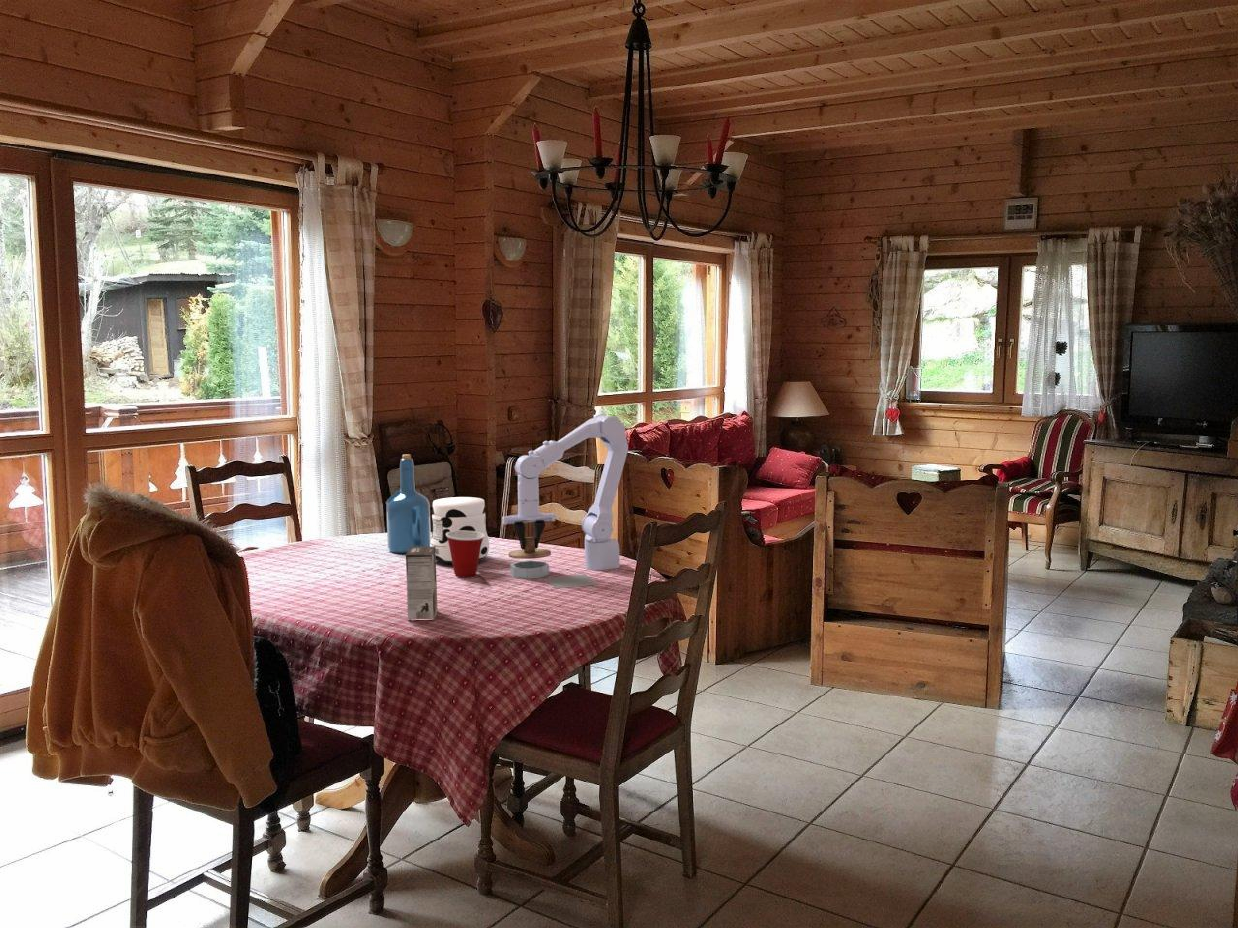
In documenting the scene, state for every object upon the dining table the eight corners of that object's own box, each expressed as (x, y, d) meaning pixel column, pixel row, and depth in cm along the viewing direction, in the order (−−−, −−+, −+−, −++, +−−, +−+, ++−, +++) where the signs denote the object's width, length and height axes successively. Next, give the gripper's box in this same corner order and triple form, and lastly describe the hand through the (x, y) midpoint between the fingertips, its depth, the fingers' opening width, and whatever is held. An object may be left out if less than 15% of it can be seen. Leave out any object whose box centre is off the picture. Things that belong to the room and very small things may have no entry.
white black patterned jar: (496, 555, 310) (495, 496, 308) (479, 568, 294) (477, 506, 291) (442, 553, 314) (440, 495, 311) (421, 566, 297) (419, 505, 294)
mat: (585, 577, 281) (585, 574, 281) (599, 587, 270) (599, 584, 270) (543, 581, 277) (543, 578, 277) (555, 592, 266) (555, 588, 266)
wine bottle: (437, 546, 324) (435, 452, 320) (420, 555, 311) (417, 457, 307) (398, 544, 327) (394, 451, 323) (379, 553, 314) (375, 456, 310)
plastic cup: (478, 580, 279) (477, 537, 277) (440, 579, 281) (439, 536, 279) (491, 571, 289) (490, 530, 288) (455, 570, 292) (453, 528, 290)
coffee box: (411, 611, 249) (409, 546, 247) (438, 610, 249) (436, 545, 247) (407, 621, 240) (404, 554, 238) (434, 620, 240) (432, 553, 238)
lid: (542, 550, 289) (542, 533, 289) (556, 556, 278) (556, 538, 278) (503, 553, 284) (502, 536, 284) (516, 560, 274) (515, 542, 273)
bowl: (542, 571, 289) (542, 559, 288) (552, 579, 280) (552, 566, 279) (507, 574, 286) (507, 562, 285) (516, 582, 276) (516, 570, 276)
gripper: (506, 503, 274) (507, 553, 275) (558, 500, 279) (558, 549, 280) (499, 499, 280) (500, 548, 282) (550, 496, 285) (551, 544, 287)
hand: (529, 548), depth 282 cm, fingers closed on lid, 3 cm apart
